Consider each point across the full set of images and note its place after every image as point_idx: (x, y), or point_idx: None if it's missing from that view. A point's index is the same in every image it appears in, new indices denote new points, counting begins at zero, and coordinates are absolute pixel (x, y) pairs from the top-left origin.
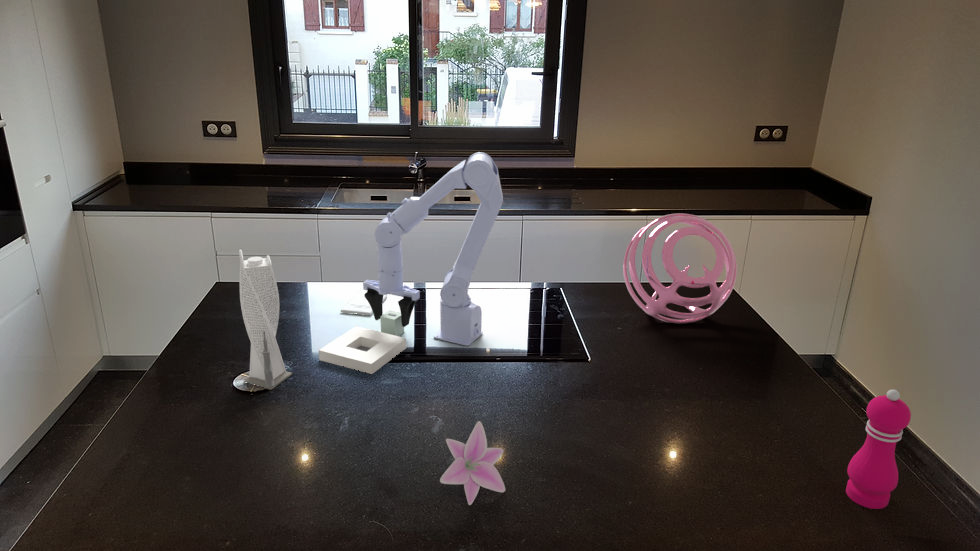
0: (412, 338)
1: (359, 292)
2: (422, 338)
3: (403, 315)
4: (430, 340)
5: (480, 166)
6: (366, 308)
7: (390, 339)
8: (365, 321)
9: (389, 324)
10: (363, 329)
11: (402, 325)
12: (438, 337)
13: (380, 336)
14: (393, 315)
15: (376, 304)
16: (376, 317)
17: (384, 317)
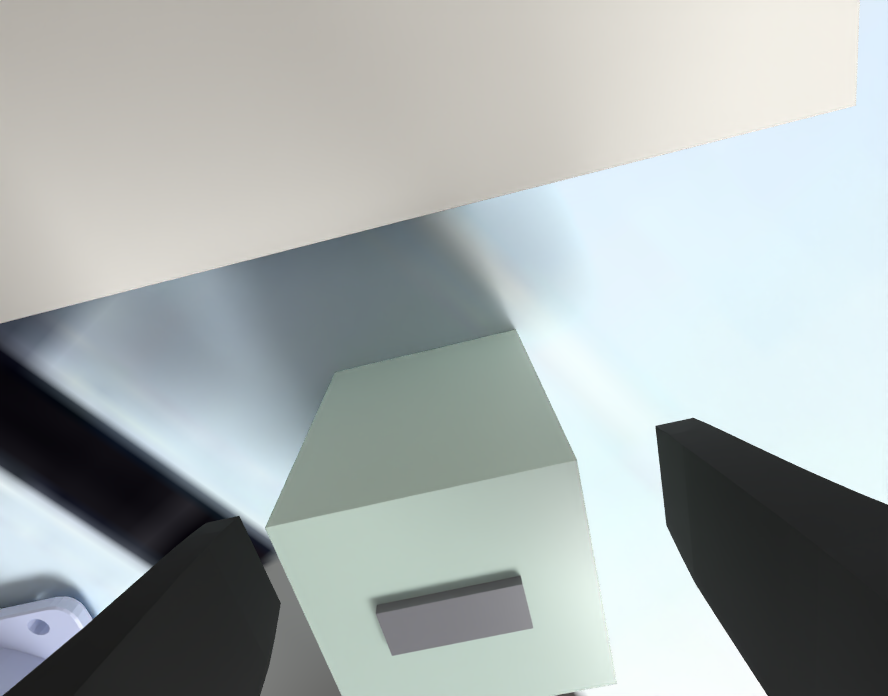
0: (214, 480)
1: None
2: (150, 535)
3: (35, 686)
4: (65, 552)
5: None
6: None
7: (29, 139)
8: (884, 438)
9: (387, 436)
10: (661, 99)
11: (224, 525)
12: (13, 619)
13: (238, 106)
14: (399, 608)
15: (871, 675)
16: (683, 441)
17: (482, 477)
